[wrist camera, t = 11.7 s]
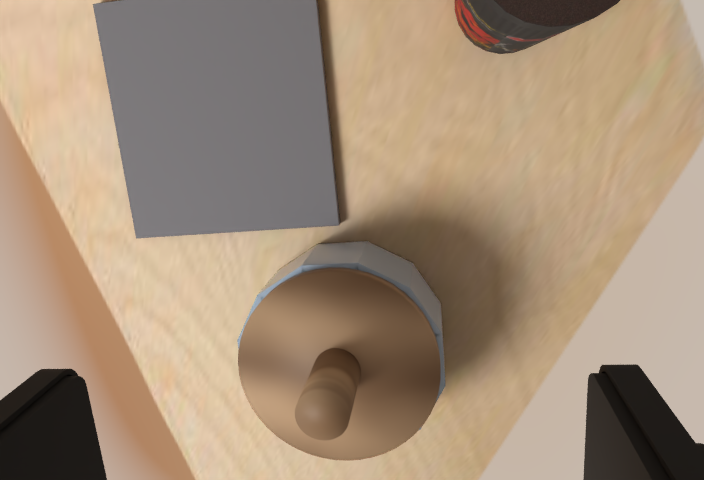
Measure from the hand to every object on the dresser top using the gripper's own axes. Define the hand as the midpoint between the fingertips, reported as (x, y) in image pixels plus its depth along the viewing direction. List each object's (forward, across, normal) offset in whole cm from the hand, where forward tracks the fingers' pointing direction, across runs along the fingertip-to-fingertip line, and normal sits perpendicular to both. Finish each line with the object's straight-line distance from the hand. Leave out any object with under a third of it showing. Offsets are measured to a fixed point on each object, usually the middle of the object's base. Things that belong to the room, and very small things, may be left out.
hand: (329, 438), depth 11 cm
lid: (+22, +4, +10) cm, 25 cm away
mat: (+28, +11, -4) cm, 30 cm away
